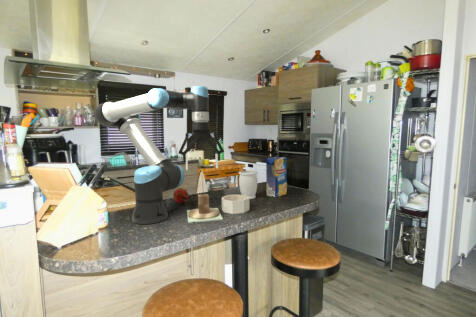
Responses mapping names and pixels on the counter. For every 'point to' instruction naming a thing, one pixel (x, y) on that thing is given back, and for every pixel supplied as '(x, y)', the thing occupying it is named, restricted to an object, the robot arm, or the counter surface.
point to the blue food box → (276, 176)
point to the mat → (204, 219)
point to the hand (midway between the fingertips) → (202, 168)
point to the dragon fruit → (181, 195)
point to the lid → (203, 209)
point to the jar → (248, 183)
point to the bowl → (235, 204)
